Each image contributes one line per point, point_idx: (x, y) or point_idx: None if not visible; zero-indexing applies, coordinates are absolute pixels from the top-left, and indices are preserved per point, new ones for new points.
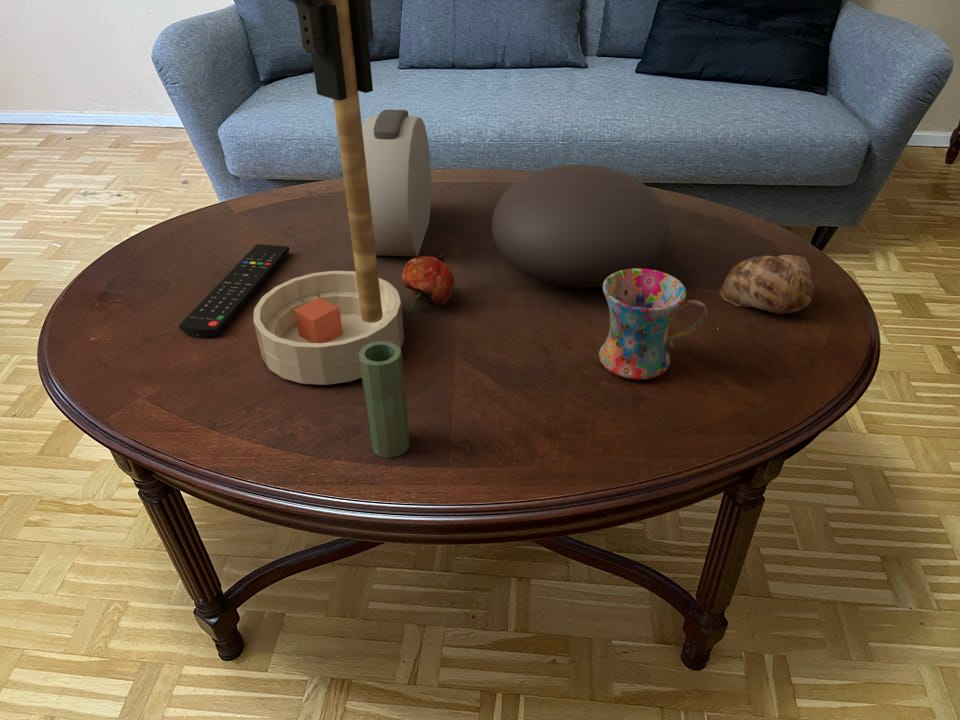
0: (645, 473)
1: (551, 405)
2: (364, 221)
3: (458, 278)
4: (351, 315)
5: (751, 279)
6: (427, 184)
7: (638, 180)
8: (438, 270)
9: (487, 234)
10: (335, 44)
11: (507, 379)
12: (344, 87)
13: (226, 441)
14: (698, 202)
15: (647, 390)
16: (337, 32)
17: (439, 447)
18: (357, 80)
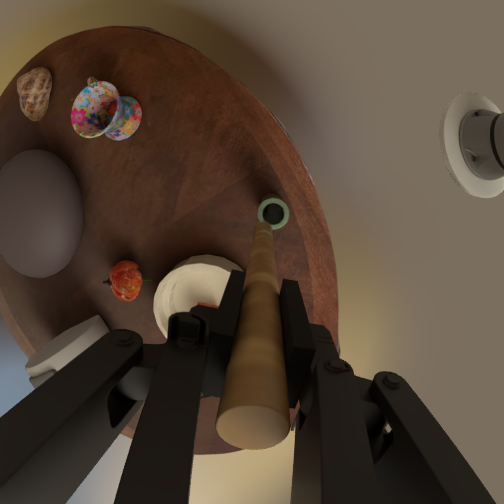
0: (214, 67)
1: (185, 138)
2: (268, 240)
3: (100, 274)
4: (178, 310)
5: (39, 92)
6: (50, 343)
7: None
8: (121, 273)
9: (52, 287)
10: (299, 314)
11: (176, 177)
12: (286, 284)
13: (317, 292)
14: None
15: (143, 98)
16: (294, 321)
17: (257, 177)
18: (242, 293)
